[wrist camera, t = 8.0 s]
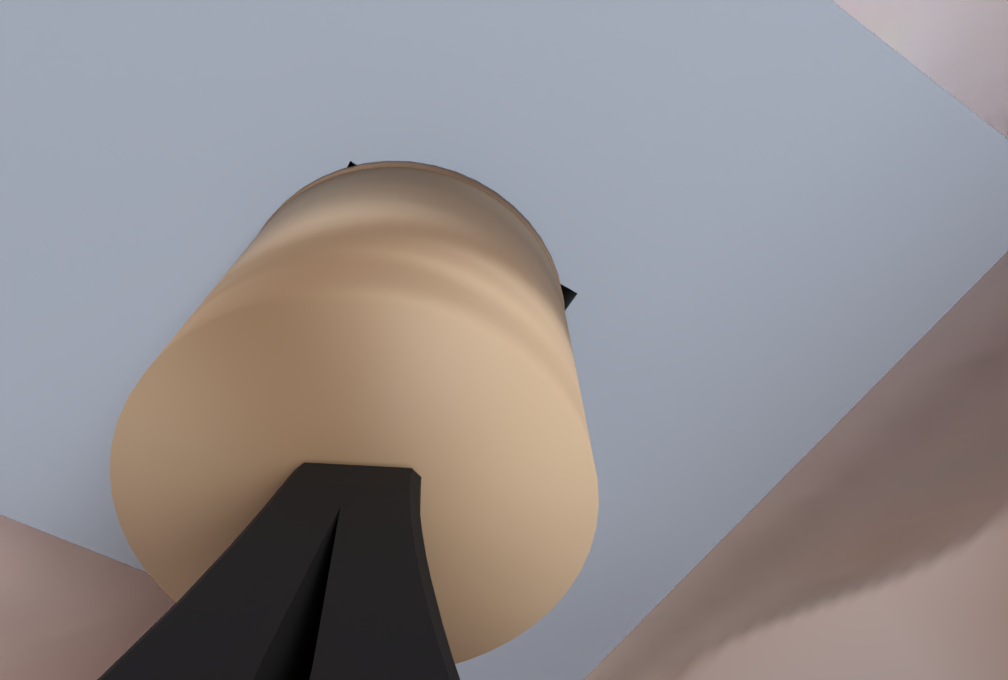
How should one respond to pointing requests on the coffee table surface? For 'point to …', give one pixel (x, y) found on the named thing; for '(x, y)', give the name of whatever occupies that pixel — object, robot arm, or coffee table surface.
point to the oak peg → (377, 393)
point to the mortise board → (534, 193)
